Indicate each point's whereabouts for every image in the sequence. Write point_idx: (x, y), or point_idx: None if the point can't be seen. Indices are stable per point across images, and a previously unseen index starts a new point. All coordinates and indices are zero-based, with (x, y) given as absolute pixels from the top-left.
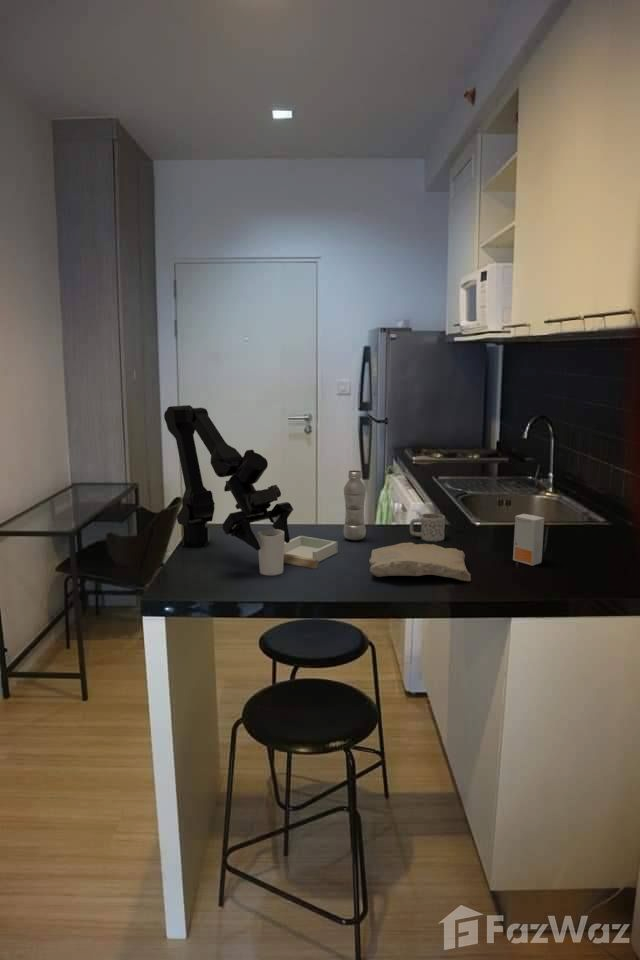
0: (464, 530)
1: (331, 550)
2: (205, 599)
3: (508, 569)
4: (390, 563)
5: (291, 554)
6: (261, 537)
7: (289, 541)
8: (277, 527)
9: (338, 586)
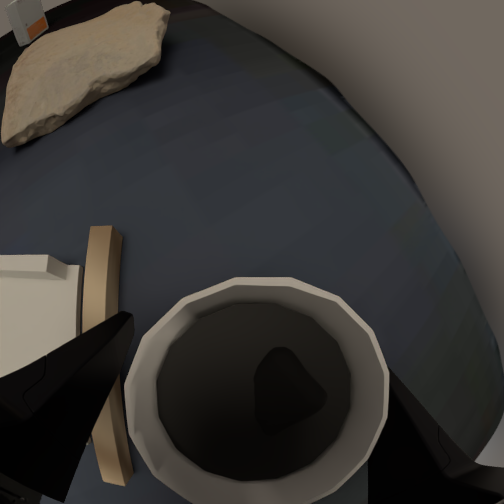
0: None
1: None
2: (485, 332)
3: (61, 28)
4: (161, 20)
5: None
6: (378, 402)
7: None
8: (66, 457)
9: (239, 107)
